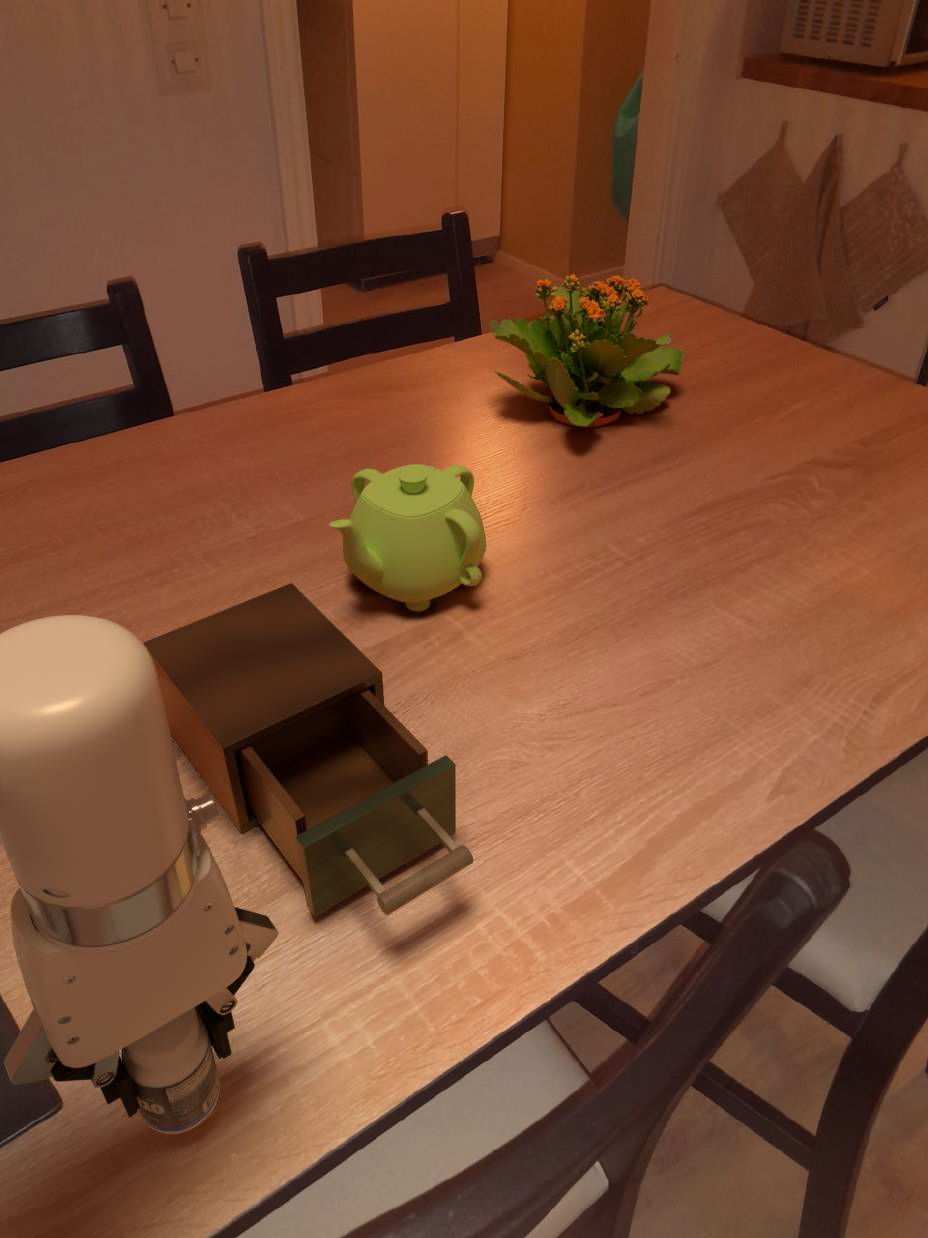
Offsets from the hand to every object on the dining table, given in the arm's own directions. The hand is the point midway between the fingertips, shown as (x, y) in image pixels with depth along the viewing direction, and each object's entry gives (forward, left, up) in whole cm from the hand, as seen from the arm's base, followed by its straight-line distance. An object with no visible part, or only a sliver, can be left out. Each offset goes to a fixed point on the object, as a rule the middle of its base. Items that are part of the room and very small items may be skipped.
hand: (170, 1063), depth 55 cm
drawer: (+19, +10, -5) cm, 22 cm away
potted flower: (+81, +54, -6) cm, 98 cm away
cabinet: (+19, +24, -6) cm, 31 cm away
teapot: (+41, +36, -6) cm, 55 cm away
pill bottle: (0, 0, -4) cm, 4 cm away
